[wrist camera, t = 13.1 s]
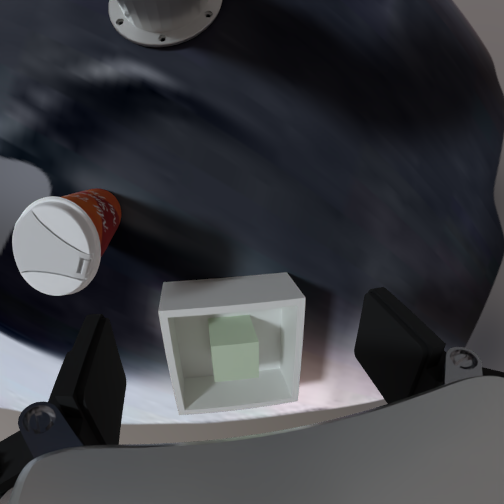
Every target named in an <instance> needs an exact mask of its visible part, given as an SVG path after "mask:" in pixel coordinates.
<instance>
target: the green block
mask: <svg viewBox="0 0 504 504" xmlns="http://www.w3.org/2000/svg"><path fill="white" fill-rule="evenodd" d="M208 326H209V337H210V348H211V357H212V365H213V373H214V380H215V382H221V381H232V380H241V379H250V378H258V377H259V341H258V338H257V335H256V332H255V329H254V327H253V324H252V321H251V318H250V315H240V316H229V317H217V318H208Z"/></svg>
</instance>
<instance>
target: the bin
mask: <svg viewBox="0 0 504 504" xmlns="http://www.w3.org/2000/svg"><path fill="white" fill-rule="evenodd" d="M305 299H306V298H305V296H304V295H303V294H302V292H301V291H300V289H299V288H298V287H297V285H296V284H295V283H294V281H293V280H292V279H291V277H290V276H289V275H288V273H287V272H285V273H274V274H263V275H251V276H239V277H227V278H214V279H202V280H188V281H175V282H163V287H162V293H161V298H160V304H159V310H158V312H159V318H160V324H161V330H162V335H163V341H164V346H165V352H166V357H167V362H168V367H169V372H170V377H171V382H172V386H173V391H174V395H175V400H176V404H177V408H178V412H179V415H189V414H202V413H214V412H224V411H233V410H242V409H250V408H257V407H264V406H271V405H277V404H283V403H289V402H295V401H298V392H299V382H300V370H301V358H302V345H303V331H304V316H305ZM240 315H250V318H251V321H252V324H253V327H254V329H255V332H256V335H257V338H258V341H259V377H258V378H250V379H241V380H232V381H221V382H215V380H214V373H213V365H212V357H211V348H210V337H209V326H208V318H217V317H229V316H240Z"/></svg>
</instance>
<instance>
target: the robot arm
mask: <svg viewBox="0 0 504 504" xmlns="http://www.w3.org/2000/svg"><path fill="white" fill-rule="evenodd" d="M221 4H222V0H109V16H110V20H111V22H112V24H113V26H114V27H115V29H116V30H117V31H118V33H119V34H120V35H122V36H123V37H124V38H125V39H127V40H129V41H131V42H133V43H135V44H138V45H142V46H147V47H167V46H172V45H177V44H180V43H183V42H186V41H188V40H190V39H192V38H194V37H196V36H198V35H199V34H200V33H202V32H203V31H204V30H206V29H207V28H208V27H209V26H210V25H211V23H212V22H213V21H214V20H215V18H216V16H217V15H218V13H219V10H220V8H221ZM208 15H209V16H210V17H209V18H208V17H206V16H208ZM120 23H123V24H121V25H119V24H120ZM162 39H165V41H163V42H161V40H162ZM445 345H446V344H445V343H444V342H443V341H442V340H441V339H440V338H439V337H438V336H437V335H436V334H435V333H434V332H433V331H432V330H430V329H429V328H428V327H427V326H426V325H425V324H424V323H423V322H422V321H421V320H420V319H419V318H418V317H417V316H416V315H414V314H413V313H412V312H411V311H410V310H409V309H408V308H407V307H406V306H405V305H404V304H402V303H401V302H400V301H399V300H398V299H397V298H396V297H395V296H394V295H392V294H391V293H390V292H389V291H388V290H387V289H386V288H384V287H381V288H375V289H370V290H369V292H368V293H367V294H366V295H365V297H364V302H363V308H362V313H361V319H360V324H359V329H358V334H357V339H356V344H355V349H354V353H355V357H356V359H357V360H358V361H359V363H360V364H361V366H362V367H363V369H364V370H365V371H366V373H367V374H368V376H369V377H370V379H371V380H372V382H373V383H374V384H375V386H376V387H377V389H378V390H379V392H380V393H381V395H382V396H383V398H384V399H385V400H386V402H387V403H388V404H387V405H383V406H380V407H376V408H373V409H370V410H366V411H363V412H359V413H355V414H352V415H348V416H344V417H340V418H336V419H332V420H328V421H324V422H319V423H315V424H310V425H306V426H301V427H296V428H291V429H286V430H281V431H275V432H269V433H262V434H256V435H249V436H242V437H234V438H226V439H217V440H207V441H196V442H182V443H163V444H137V445H136V444H134V445H119V435H120V427H121V419H122V411H123V404H124V397H125V390H126V376H125V373H124V370H123V366H122V363H121V360H120V356H119V353H118V349H117V346H116V342H115V339H114V335H113V331H112V328H111V324H110V320H109V319H108V318H104V316H103V315H102V314H95V315H87V316H86V318H85V320H84V322H83V325H82V327H81V329H80V332H79V334H78V336H77V339H76V341H75V343H74V346H73V348H72V351H70V352H68V353H67V355H66V357H65V359H64V361H63V364H62V366H61V369H60V372H59V374H58V377H57V379H56V382H55V385H54V387H53V390H52V393H51V395H50V398H49V401H48V402H36V403H34V404H31V405H29V406H28V407H26V408H25V409H24V410H23V411H22V412H21V415H20V416H19V421H18V425H19V429H20V431H18V432H16V433H15V434H13V435H11V436H9V437H8V438H6V439H4V440H3V441H1V442H0V504H504V372H500V371H495V370H491V369H487V368H483V367H482V364H481V360H480V358H479V356H478V355H477V354H476V353H475V352H474V351H472V350H470V349H467V348H464V347H453V348H451V349H449V350H448V351H447V353H446V352H445V351H444V348H445Z"/></svg>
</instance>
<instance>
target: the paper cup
mask: <svg viewBox="0 0 504 504" xmlns="http://www.w3.org/2000/svg"><path fill="white" fill-rule="evenodd" d="M120 220H121V207H120V204H119V202H118V200H117V199H116V197H115V196H114V195H113V194H112V193H110V192H109V191H107V190H104V189H90V190H86V191H81V192H78V193H74V194H70V195H66V196H63V197H45V198H42V199H39V200H37V201H35V202H33V203H32V204H30V205H29V206H28V207H27V208H26V209H25V210H24V211H23V213H22V215H21V216H20V218H19V219H18V221H17V222H16V224H15V228H14V231H13V237H12V245H13V253H14V258H15V261H16V264H17V266H18V269H19V271H20V273H21V275H22V276H23V278H24V279H25V280H26V281H27V282H28V283H29V284H30V285H31V286H32V287H33V288H35V289H36V290H38V291H40V292H42V293H45V294H48V295H53V296H61V295H67V294H73V293H75V292H78V291H80V290H82V289H83V288H85V287H86V286H87V285H88V284H89V283H90V282H91V281H92V279H93V278H94V276H95V274H96V273H97V270H98V267H99V264H100V259H101V256H102V255H103V253H104V251H105V250H106V248H107V246H108V244H109V243H110V241H111V239H112V237H113V235H114V234H115V232H116V230H117V228H118V226H119V224H120Z"/></svg>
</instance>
